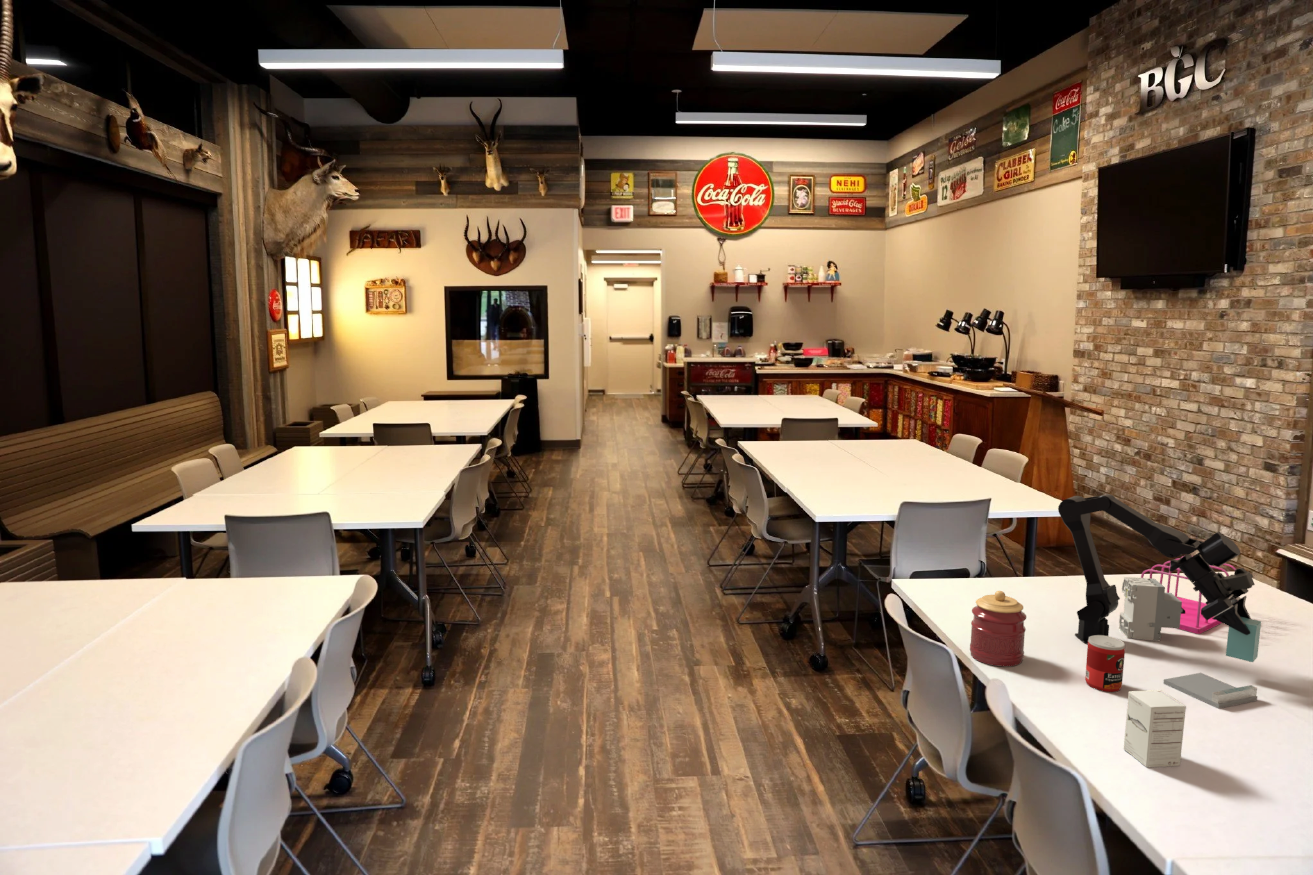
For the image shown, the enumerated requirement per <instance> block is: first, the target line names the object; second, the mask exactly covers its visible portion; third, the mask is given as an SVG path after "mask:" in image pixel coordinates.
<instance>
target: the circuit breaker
mask: <svg viewBox="0 0 1313 875" xmlns="http://www.w3.org/2000/svg"><path fill="white" fill-rule="evenodd" d="M1121 583H1122V584H1121V593H1123V597H1124V602H1123V611H1122V612H1119V619H1118V624H1119V625H1118V626H1119V627H1118V630H1119V629H1120V630H1119V631H1120V632H1121V633H1122V634H1123V636H1125V638H1126V639H1132V640H1133V639H1134V640H1144V641H1145V640H1147V641H1158V640H1160V641H1161V638H1162V634H1161V632H1162V628H1165V629H1177V628H1180V618H1181V614H1185V610H1184V609H1183V608H1182V602H1181V601H1180V600H1179V599H1178V598H1177V597H1178V596H1177V597H1175V594H1173V592H1169V593H1167V592H1166V586H1164V585H1163V583H1162V584H1160V581H1159V580H1157V579H1155V578H1153V577H1152V578H1150V577H1143V578H1141V577H1132V576H1128V577H1127V576H1123V581H1122V582H1121Z"/></svg>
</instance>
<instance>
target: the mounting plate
mask: <svg viewBox="0 0 1313 875" xmlns="http://www.w3.org/2000/svg"><path fill="white" fill-rule="evenodd" d="M1163 684H1164V685H1166V686H1168V687H1170V686H1171V688H1172V689H1175V690H1177V691H1179V692H1180V693H1184V694H1185V695H1188V696H1190V697H1192V698H1195V699H1198V700H1199V701H1202V702H1203V703H1206V704H1208V705H1210V706H1213V707H1215V708H1216V709H1224V708H1227V707H1233V706H1237V705H1243V704H1247V703H1252V702H1257V701H1258V696H1257V691H1258V687H1256V686H1254V685H1249V684H1248V685H1244V686H1240V687H1236V686H1233V685H1231V684H1229V683H1227V682H1224V681H1221V680H1219V679H1217V678H1216V677H1215V678H1214V677H1212V676H1209V675H1207V674H1205V673H1202V672H1197V673H1191V674H1185V675H1180V676H1175V677H1169V678H1164V679H1163Z"/></svg>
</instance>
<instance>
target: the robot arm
mask: <svg viewBox="0 0 1313 875" xmlns="http://www.w3.org/2000/svg"><path fill="white" fill-rule="evenodd" d="M1057 509H1058V510H1057V511H1058V514H1059V516H1060V518H1061V520H1062V522H1063V523H1064V525H1065V526H1066V527H1067V529H1068V530H1069V531H1070V534H1071V535H1072V538H1073V542H1074V546H1075V550H1076V553H1077V556H1078V560H1079V562H1080V565H1081V569H1082V571H1083V572H1082V573H1083V576H1084V578H1085V579H1084V580H1085V582H1086V583H1085V584H1086V586H1085V587H1086V588H1085V601H1086V602H1085V604H1086V605H1085V606H1083V607H1082V608H1081V609H1079V610H1077V611H1076V614H1077V618H1078V628H1077V629H1078V630H1077V633H1074V636H1075V637H1076V638H1078V639H1079V640H1080V641H1081V642H1083V643H1084V644H1087V645H1088V639H1089V637H1090V636H1094V635H1103V636H1110V635H1109V633H1110V632H1109V631H1110V625H1109V622H1108V621H1109V619H1107V617H1109V616H1110V614H1111V613H1113V612H1114V611H1116V610H1117V608H1118V607H1119V601H1120V599H1121V597H1120V596H1119V595H1118V592H1117V586H1116V584H1112V585H1111V584H1109V583H1108V581H1107V580H1106V578H1105V575H1104V572H1103V568H1102V565H1101V562H1100V558H1099V555H1098V551H1097V548H1096V545H1095V542H1094V539H1093V535H1092V532H1091V528H1090V526H1091V525H1090V524H1091V514H1092V513H1096V512H1102V511H1103V512H1105V513H1106V514H1108V515H1110V516H1111V517H1113V518H1114V519H1116V520H1117V521H1118V522H1121V523H1122V524H1125V526H1127V527H1129V528H1131V529H1132V530H1134V531H1135V532H1137V533H1138V534H1140V535H1142V536H1143V537H1144V538H1145V539H1147V541H1148V542H1149V543H1150V544H1151V545H1152V547H1154V548H1155V549H1156V550H1157V551H1158V552H1159V553H1160V554H1161V555H1163V556H1164V557H1166V558H1172V559H1171V560H1169V561H1170V563H1171V566H1170V565H1169V566H1170V572H1171V573H1172V572H1175V571H1177V570H1176V569H1177V568H1179V569H1180V570H1181V571H1180V572H1182V573H1183V575H1185V576H1184V577H1187V578H1188V579H1189V580H1188V579H1187V580H1188V581H1190V582H1191V584H1192V585H1193V586H1194V587H1192V589H1193V590H1194V591H1195V592H1200V593H1201V594H1202V596H1203V597H1204V598H1205V600H1206V601H1205V602H1204V603H1206V604H1207V605H1205V606H1204V607H1203V608H1202V609H1201V615H1202V616H1203V617H1204V618H1205V619H1206V620H1208V619H1210V618H1212V617H1213V618H1212V619H1214V620H1217V621H1219V622H1221V624H1223V625H1225V626H1228V627H1229V626H1230V627H1232V628H1233V629H1235V630H1237V631H1239V632H1241V633H1243V634H1245V635H1248V634H1250V631H1249V629H1248V628H1247V626H1246V625H1245V623H1244V622H1243V620H1242V619H1241V617H1244V618H1248V619H1252V617H1251V616H1250V614H1249V611H1248V609H1247V608H1246V600H1247V595H1245V594H1247V593H1249V589H1251V588H1253V586H1255V582H1254V579H1253V577H1254V575H1253V574H1251V572H1250V570H1248V571H1247V570H1246V569H1245V568H1244V567H1238V568H1236V570H1235V571H1234V574H1229V576H1225V575H1224V574H1223V573H1222V572H1216V571H1215V570H1214V568H1211V567H1210V566H1209V565H1211V566H1215V567H1219V568H1221V566H1224V565H1223V564H1225V563H1226V564H1227V562H1230V561H1231V560H1233V559H1235V558H1236V557H1238V556H1239V555H1240V554H1241V550H1240V548H1239V547H1238V545H1237V544H1236V542H1235V541H1233V540H1232V539H1230V538H1229V537H1228V536H1226V535H1224V534H1223V533H1222V532H1221V531H1217V532H1215V533H1214V534H1212V535H1211V536H1210V537H1209V538H1207V539H1206V540H1204V541H1202V540H1198V539H1195V538H1191V537H1189V536H1188V535H1187V534H1186V533H1185V532H1183V531H1180V530H1178V529H1176V528H1174V527H1170V526H1168V525H1164V524H1160V523H1158V522H1155V521H1154V520H1153V519H1150V518H1149V517H1147V516H1146V515H1145V514H1143V513H1142V512H1141V513H1140V512H1139V511H1138V510H1135V509H1134V508H1132V506H1129V505H1128V504H1126V503H1124V502H1123V501H1121V500H1120V499H1118V498H1116V497H1115V495H1113V494H1110V493H1106V494H1105V493H1104V494H1102V495H1095V496H1089V497H1083V496H1080V495H1073V496H1071V497H1068V498H1066V499H1064V500H1062V501H1060V503H1059V504H1058V507H1057ZM1196 551H1198V552H1197V553H1196V554H1193V555H1191V554H1192V553H1194V552H1196ZM1181 555H1183V556H1181ZM1180 556H1181V557H1182V558H1181V557H1180ZM1177 557H1180V559H1179V560H1175V559H1176V558H1177ZM1173 558H1175V559H1173ZM1170 563H1169V564H1170ZM1242 595H1245V596H1243V597H1241V596H1242Z"/></svg>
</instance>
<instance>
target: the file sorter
mask: <svg viewBox="0 0 1313 875" xmlns="http://www.w3.org/2000/svg"><path fill="white" fill-rule="evenodd" d="M1182 557H1183V556H1181V557H1180V558H1182ZM1180 558H1177V557H1176V558H1175V560H1179V559H1180ZM1170 561H1171V560H1168V561H1165V562H1164V563H1163V564H1155V565H1153V566H1152V567H1151V568H1149V569H1145V570H1143V571H1142V573H1141V574H1140V578H1144V576H1145V574H1146V573H1148V572H1149V578H1152V579H1153V573H1157V574H1160V576H1159V577H1160V578H1159V583H1160V584H1162V585H1163V579H1164V575H1167V578H1168V579H1167V586H1166V593H1170V587H1171V579H1172V577H1176V582H1175V583H1176V584H1175V588H1174V589H1175V592H1174V596H1175V597H1177V598H1178V599H1179V600H1180V601H1181V602H1182V608H1183V609H1184V610H1185V614H1181V618H1180V628H1176V629H1177V630H1181V631H1185V632H1188V633H1193V634H1196V635H1200V634H1203V633H1204V632H1207V631H1208V630H1210V629H1212V628H1214V627H1217V626H1220V625H1221V624H1222V623H1221V622H1219V621H1217V620H1214V619H1212V618H1213V617H1212V618H1210V619H1208V620H1206V619H1205V618H1204V617H1203V616H1202V615H1201V609H1202V608H1203V607H1204V606H1205V605H1207V604H1206V603H1205V602H1203V601H1202V598H1203V597H1202V596H1203V595H1202V594H1201V593H1200V592H1199V591H1198V592H1199V593H1198V600H1193V599H1190V598H1186V597H1181V596H1178V590H1179V584H1180V583H1179V582H1180V578H1181V579H1185V580H1188V581H1190V580H1189V579H1188V578H1187V577H1186V576H1184V575H1181V574H1180V573H1181V572H1182V571H1181V570H1180V569H1179V568H1177V569H1176V570H1175V571H1176V572H1177V573H1176V574H1174V573H1172V572H1170V566H1171V563H1170ZM1168 564H1169V565H1168ZM1208 565H1209V564H1208ZM1209 566H1210V567H1211V568H1212V569H1216V570H1218V571H1221V572H1223V573H1224V574H1225V575H1226V576H1230V574H1229V572H1228V571H1227V570H1226V569H1225V568H1222V567H1217V566H1215V565H1213V566H1211V565H1209ZM1222 566H1225V567H1226V566H1227V567H1230V568H1231V569H1232V570H1234V572H1235V570H1236V569H1237V568H1236V567H1234V565H1231V564H1230V563H1227V562H1226V563H1225V564H1223V565H1222ZM1156 567H1157V568H1158V567H1159V568H1161V570H1157V569H1156V570H1155V568H1156ZM1165 569H1168V572H1166V571H1165ZM1226 576H1225V577H1226Z"/></svg>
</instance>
